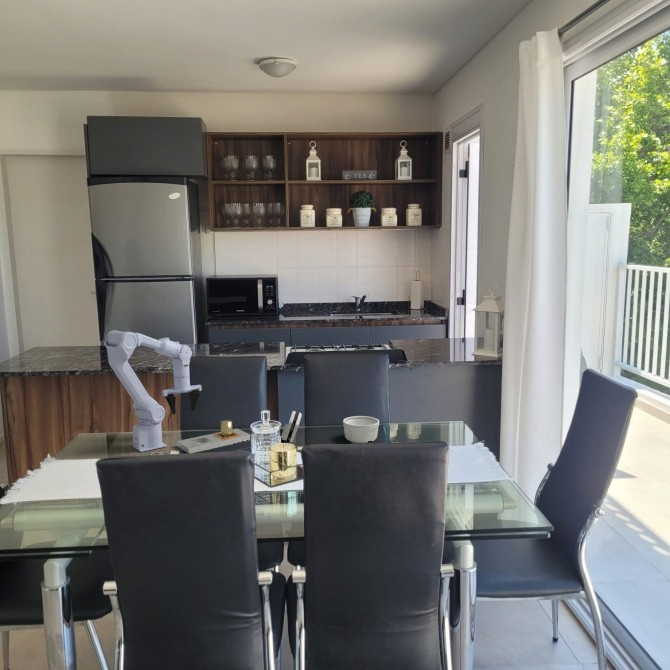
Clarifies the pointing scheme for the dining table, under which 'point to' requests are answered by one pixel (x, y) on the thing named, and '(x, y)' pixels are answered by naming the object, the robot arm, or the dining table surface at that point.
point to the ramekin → (361, 429)
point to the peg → (226, 429)
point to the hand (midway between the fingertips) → (183, 411)
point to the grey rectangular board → (212, 441)
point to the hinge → (289, 429)
